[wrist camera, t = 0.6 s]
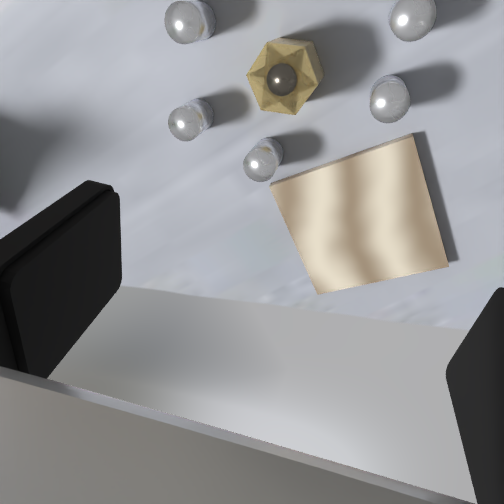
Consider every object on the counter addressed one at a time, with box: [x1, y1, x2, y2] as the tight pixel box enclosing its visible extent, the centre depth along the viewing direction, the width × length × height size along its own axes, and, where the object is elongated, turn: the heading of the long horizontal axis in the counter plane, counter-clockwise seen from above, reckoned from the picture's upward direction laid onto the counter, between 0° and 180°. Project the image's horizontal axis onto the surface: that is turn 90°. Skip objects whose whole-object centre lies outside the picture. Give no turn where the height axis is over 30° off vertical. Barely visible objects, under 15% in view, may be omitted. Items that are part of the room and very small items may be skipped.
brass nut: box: [246, 38, 324, 115], centre depth 34 cm, size 5×6×5 cm
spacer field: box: [165, 0, 437, 182], centre depth 34 cm, size 23×16×4 cm
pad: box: [269, 133, 449, 294], centre depth 41 cm, size 14×14×1 cm
